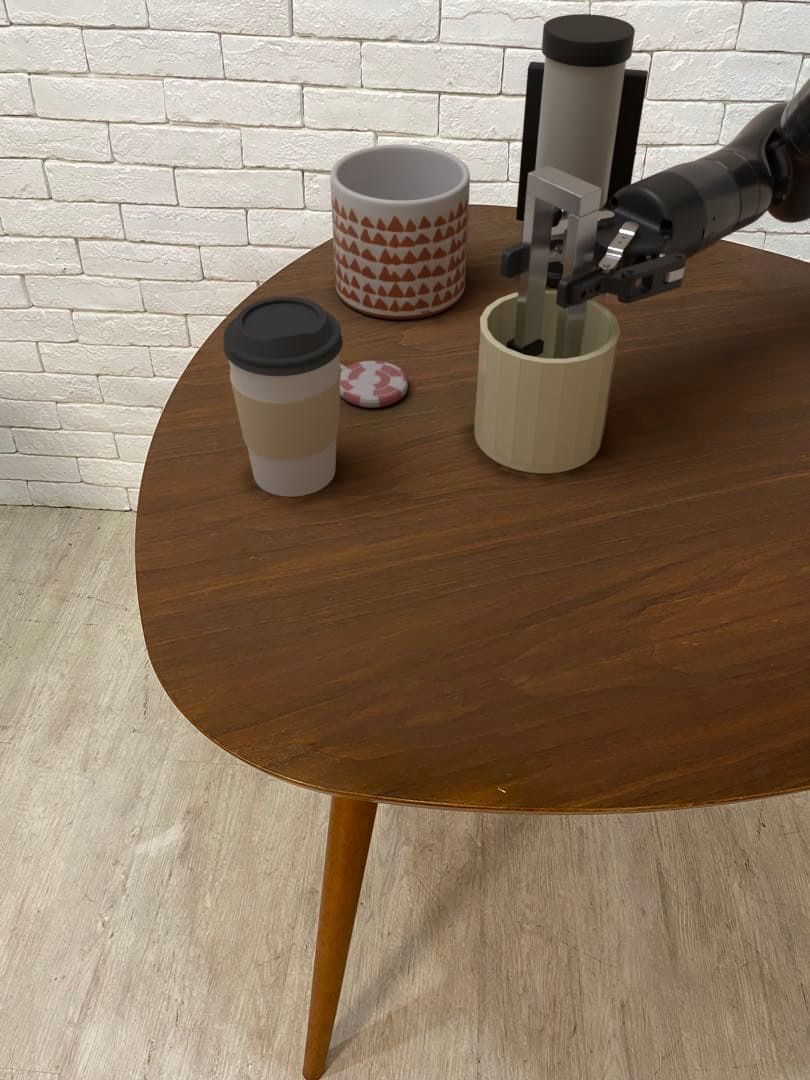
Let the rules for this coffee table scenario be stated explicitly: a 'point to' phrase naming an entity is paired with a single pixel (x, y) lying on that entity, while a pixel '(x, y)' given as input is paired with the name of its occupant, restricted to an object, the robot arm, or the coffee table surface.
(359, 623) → the coffee table surface
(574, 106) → the light fixture
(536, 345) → the tongs
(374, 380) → the lollipop
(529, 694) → the coffee table surface
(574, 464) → the crock
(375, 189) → the planter
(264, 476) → the coffee cup
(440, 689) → the coffee table surface
